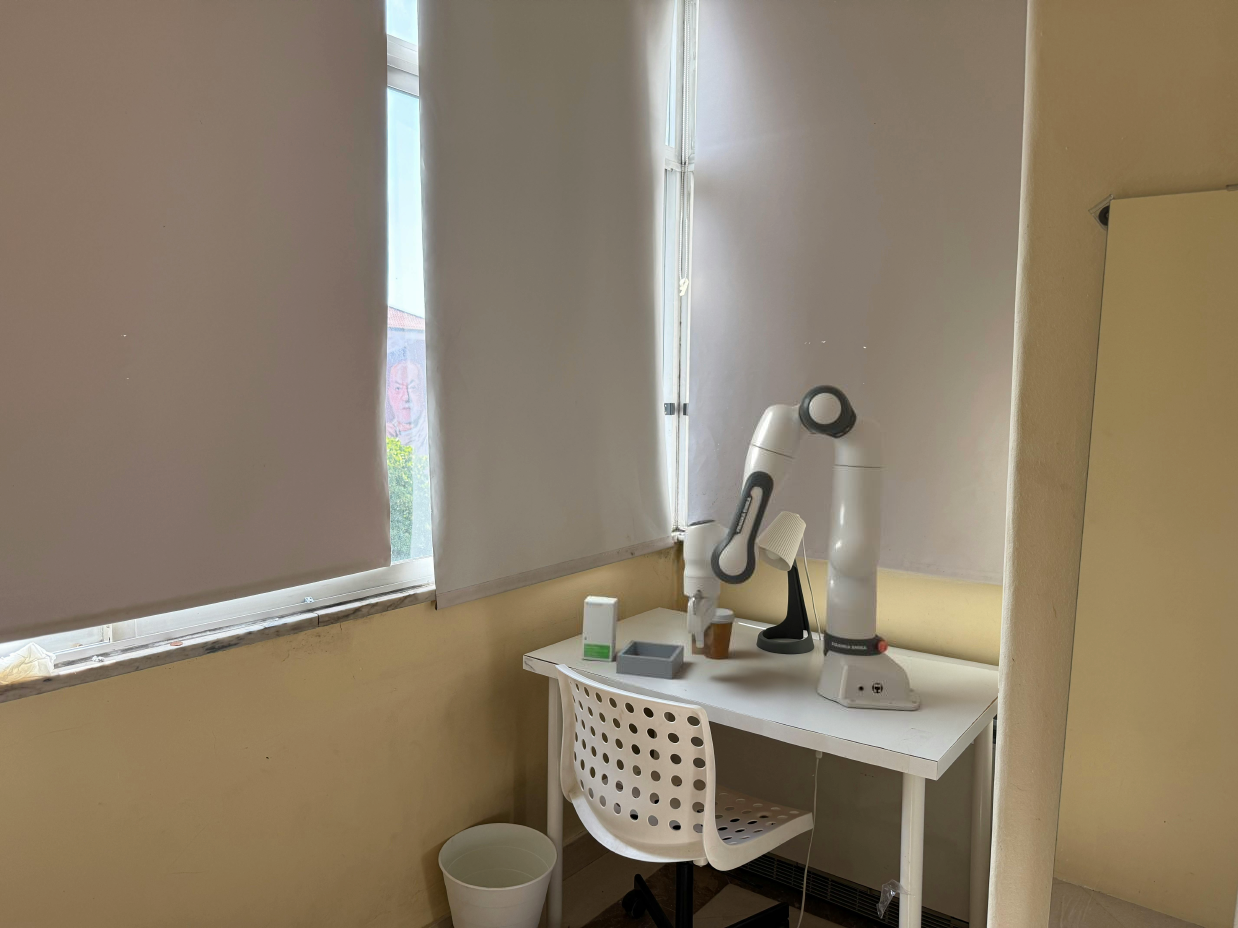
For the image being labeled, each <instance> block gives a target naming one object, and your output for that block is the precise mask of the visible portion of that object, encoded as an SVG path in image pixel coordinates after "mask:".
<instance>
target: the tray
mask: <svg viewBox="0 0 1238 928" xmlns="http://www.w3.org/2000/svg"><path fill="white" fill-rule="evenodd" d="M684 653H685V645H682V644H671V643H662V642H653V641H642V640H635V639H634V640H633V639H632V640H630V642H628V644H626V645H625V646H624V647H623V648H622V649H621V650H620V651H619V652H618V653H617V654H616V663H615V664H616V667H615V670H616V674H621V675H631V676H641V677H648V678H657V679H665V680H672V679H674V677H675V675H676V674H677V672H678V671H679V670H680V668H681V667H682V665H684V657H685V656H684V655H685V654H684Z"/></svg>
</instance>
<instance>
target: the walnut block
mask: <svg viewBox="0 0 1238 928" xmlns="http://www.w3.org/2000/svg"><path fill="white" fill-rule="evenodd" d="M704 639H705V645H704V647H702V648H700V647H697V646H696V638H695V634H691V655H696V656H697V655H698V656H704V655H711V654H712V652H713V626H708V627H707V628H706V629H705V631H704Z"/></svg>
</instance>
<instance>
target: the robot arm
mask: <svg viewBox="0 0 1238 928" xmlns="http://www.w3.org/2000/svg"><path fill="white" fill-rule="evenodd" d="M808 435H821V436H822V435H824V436H826V437H827V436H828V437H830V439H831V440H832V442H833V446H834V456H833V469H832V487H831V500H830V516H829V529H828V530H829V531H828V532H829V533H828V547H827V557H828V560H827V581H826V582H827V584H826V585H827V586H826V588H827V589H826V610H825V611H826V612H825V615H826V616H825V629H824V631H823V636H822V653H823V662H822V668H821V672H820V677H819V681H818V684H817V686H816V692H817V693H818V694H819V695H820V696H822V697H825V698H826V699H829V700H831V701H834V702H837V703H838V704H840V705H842V706H843V707H847V708H860V709H861V708H862V709H876V710H877V709H880V710H897V711H898V710H902V711H915V710H918V709H919V707H920V706H921V699H920V698H921V697H920V695H919V694H918V692H917V691H916V690H915V689H913V688H911V685H910V684H911V683H910V679H909V676H908V673H907V672H906V670H905V669H904V667H902V666H901V665H900V664H899V663H898V662H897V661H896V660H894V658H892V657H891V656H889V655H888V654H887V653H886V651H888V649H889V647H888V644H887V642H886V641H885V639H884V638H883V635H880V636H879V635H878V634H877V633H876V631H877V604H878V600H877V599H878V598H877V597H878V596H877V595H878V594H877V593H878V590H877V587H878V585H877V584H878V580H877V579H878V564H879V562H880V557H881V556H880V555H881V540H882V539H881V538H882V535H881V534H882V512H883V511H882V508H883V507H882V506H883V489H884V475H885V441H884V434H883V429H882V426H881V424H880V423H879V422H877V421H876V420H874V419H872V418H869V417H866V416H857V414H856V412H855V410H854V407H853V406H852V404H851V401H850V400H849V398H848V396H847V395H846V394H845V393H844V391H842V389H840V388H838V387H836V386H834V385H828V384H821V385H817V386H815V387H813V388H812V389H811V388H810V390H808V392H806V393H805V395H804V396H803V398H802V400H801V401H800V403H799V404H797V405H792V406H791V405H789V404H782V403H781V404H779V403H778V404H773V405H770V406H769V407H767V408H766V409H765V411H764V413H763V414H762V416H761V418H760V420H759V421H758V423H757V426H756V428H755V430H754V432H753V436H752V438H751V441H750V444H749V447H748V450H747V454H746V456H745V457H746V458H745V463H744V469H743V477H742V487H741V493H740V497H739V501H738V503H737V506H736V510H735V513H734V516H733V518H732V521H731V523H730V527H729V528H727V527H725V526H723V525H722V524H720V522H719V521H717V520H715V519H703V520H702V519H701V520H698V521H694V522H692V523H691V524H689V525H688V526H687V527H685V531H684V534H683V535H684V536H683V554H682V555H683V561H684V570H683V594H684V595H685V596H687V597H688V600H689V601H688V603H687V617H686V619H687V620H686V623H687V625H686V629H687V633H688V634H690V635H692V634H695V638H696V646H697V647H700V648H702V647H704V645H705V639H704V631H705V629H706V628H707V627H708V626H710V623H711V621H712V620H713V618H714V617H715V616H716V612H717V608H718V600H719V598H718V597H719V595H721V581H722V582H723V583H725V584H728V585H741V584H744V583H745V582H747V581H748V580H750V579H751V577H752V575H754V573H755V570H756V565H757V564H758V562H759V559H760V554H761V552H760V547H759V544H758V543H757V541H756V540H757V536H758V534H759V531H760V528H761V525H762V524H763V523H762V522H763V519H764V516H765V514H766V511H767V509H768V507H769V504H770V503H771V501H772V500H773V498H774V497H775V496H776V495H777V493H778V492H779V491H780V490H781V488H782V487H783V486H784V484H785V482H786V480H787V479H788V478H789V475H790V473H791V471H792V469H793V466H794V464H795V462H796V458H797V456H798V452H799V449H800V446H801V444H802V442H803V440H804V439H805V437H807V436H808Z"/></svg>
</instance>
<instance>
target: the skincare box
mask: <svg viewBox="0 0 1238 928" xmlns="http://www.w3.org/2000/svg"><path fill="white" fill-rule="evenodd" d="M618 602H619V599H618V598H613V597H605V596H595V595H594V596H593V595H589V596H587V597H586V598H585V599H584V602H583V603H584V604H583V605H584V606H583V622H582V624H583V625H582V626H583V627H582V643H581V645H582V647H581V660H588V661H589V660H590V661H599V662H600V661H601V662H608V663H609V662H611V663H612V661H613V660H614V657H616V656H615V655H616V642H617V624H618Z"/></svg>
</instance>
